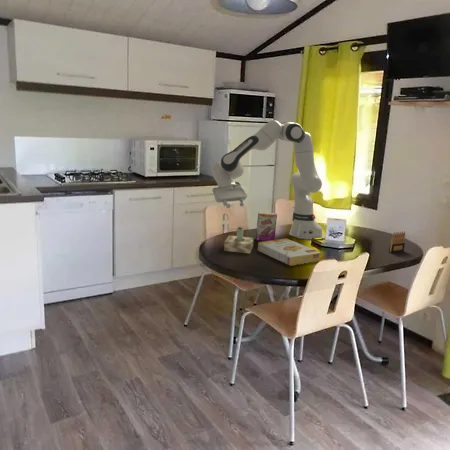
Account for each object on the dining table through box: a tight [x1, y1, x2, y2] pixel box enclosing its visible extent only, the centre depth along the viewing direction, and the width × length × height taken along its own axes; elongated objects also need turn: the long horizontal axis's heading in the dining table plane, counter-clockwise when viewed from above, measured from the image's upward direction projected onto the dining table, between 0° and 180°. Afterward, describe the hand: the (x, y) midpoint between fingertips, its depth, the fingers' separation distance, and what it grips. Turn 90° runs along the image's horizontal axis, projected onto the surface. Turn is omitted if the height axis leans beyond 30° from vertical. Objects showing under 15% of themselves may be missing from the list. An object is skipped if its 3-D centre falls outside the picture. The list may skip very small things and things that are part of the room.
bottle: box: [236, 226, 244, 241], centre depth 242 cm, size 4×4×12 cm
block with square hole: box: [223, 235, 255, 254], centre depth 243 cm, size 14×14×5 cm
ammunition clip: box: [388, 231, 406, 254], centre depth 255 cm, size 11×2×12 cm, turn 120°
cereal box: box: [257, 237, 322, 267], centre depth 235 cm, size 20×6×28 cm
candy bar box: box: [255, 211, 278, 242], centre depth 261 cm, size 11×5×16 cm, turn 84°
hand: (235, 206), depth 252 cm, fingers open, 8 cm apart
